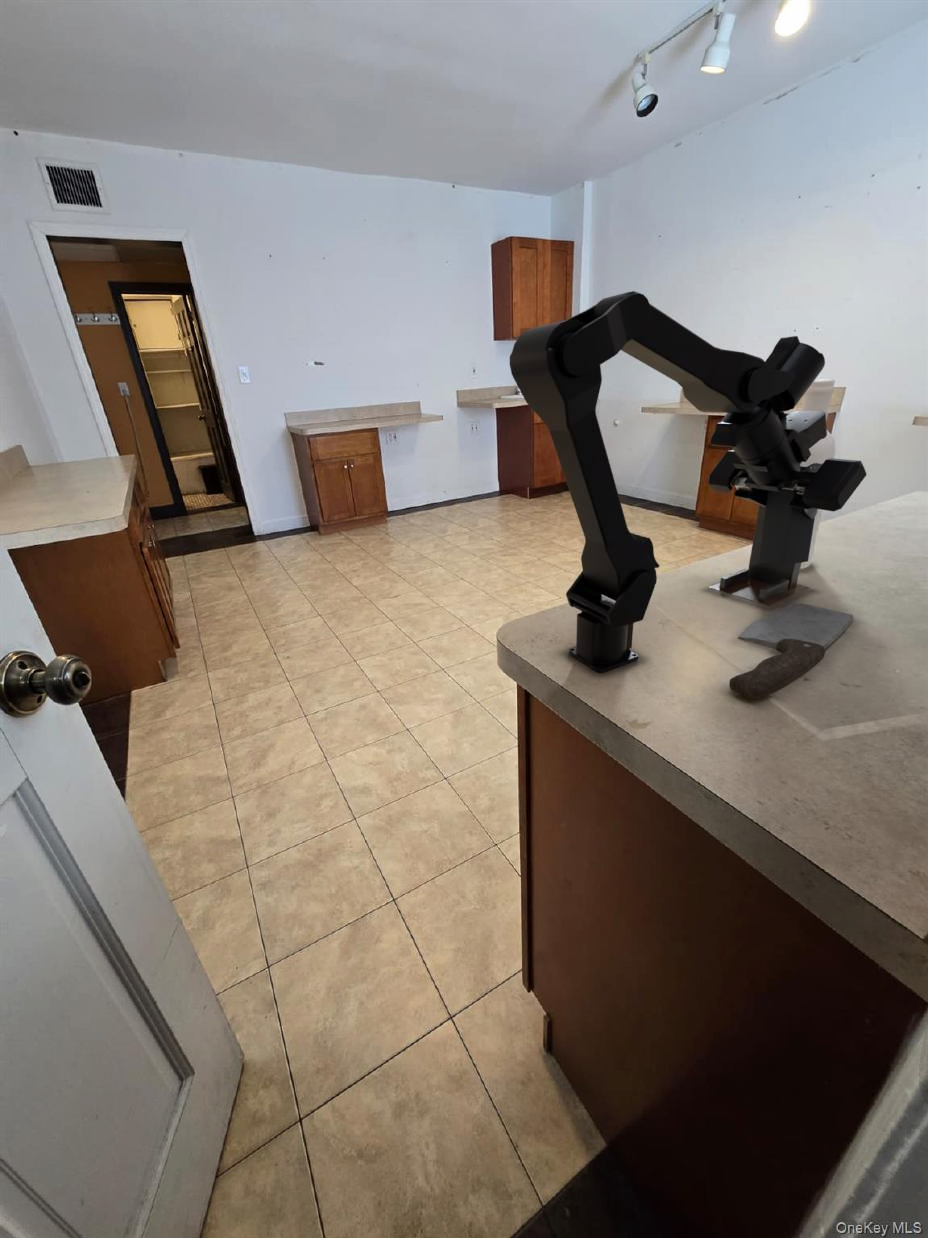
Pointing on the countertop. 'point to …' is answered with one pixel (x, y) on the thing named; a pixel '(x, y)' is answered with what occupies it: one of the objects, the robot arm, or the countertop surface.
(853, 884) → the countertop surface
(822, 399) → the bottle
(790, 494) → the back pad
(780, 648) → the cleaver
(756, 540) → the pad mount
